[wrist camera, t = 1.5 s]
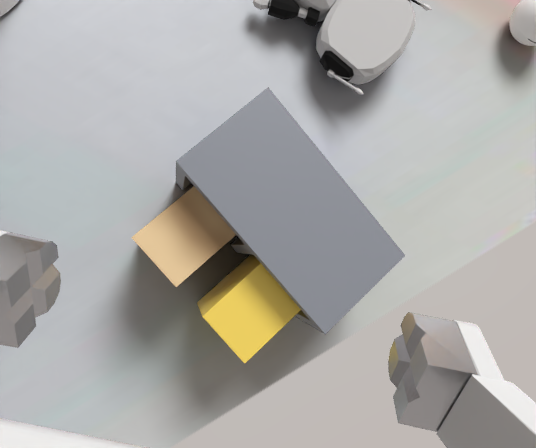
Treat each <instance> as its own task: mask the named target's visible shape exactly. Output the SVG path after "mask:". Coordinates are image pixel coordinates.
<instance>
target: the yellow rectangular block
mask: <svg viewBox="0 0 536 448" xmlns="http://www.w3.org/2000/svg"><path fill="white" fill-rule="evenodd" d="M197 304H198V307H199V309H200V312H201V314H202V317H203V318H204V319H205V320H206V321H207V322H208V323H209V324H210V326H211V327H212V328H213V329H214V330H215V331H216V332H217V333H218V334H219V336H220V337H221V338H222V339H223V340H224V341H225V342H226V343H227V345H228V346H229V347H230V348H231V349H232V350H233V351H234V352H235V353H236V355H237V356H238V357H239V358H240V359H241V360H242V361H243V362H244V363H246V362H247V361H248V360H249V359H250V358H251V357H252V356H253V355H254V354H255V353H256V352H258V351H259V350H260V349H261V348H262V347H263V346H264V345H265V344H266V343H267V342H268V341H269V340H270V339H271V338H272V337H273V336H274V335H275V334H276V333H277V332H278V331H279V330H280V329H282V328H283V327H284V326H285V325H286V324H287V323H288V322H289V321H290V320H291V319H292V318H293V317H294V316H295V315H296V314H297V313H298V312H299V311H300V310H301V309H300V308H299V307H298V306H297V304H296V303H295V302H294V301H293V300H292V299H291V298H290V296H289V295H288V294H287V293H286V292H285V291H284V289H283V288H282V287H281V286H280V285H279V284H278V282H277V281H276V280H275V279H274V278H273V277H272V276H271V274H270V273H269V272H268V271H267V270H266V269H265V267H264V266H263V265H262V264H261V263H260V262H259V260H258V259H257V258H256V257H255V256H254V255H252V254H251V255H250V256H248V257H247V258H246V259H245V260H244V261H243V262H242V263H241V264H240V265H238V266H237V267H236V268H235V269H234V270H233V271H232V272H231V273H229V274H228V275H227V276H226V277H225V278H224V279H223V280H222V281H221V282H219V283H218V284H217V285H216V286H215V287H214V288H213V289H212V290H211V291H209V292H208V293H207V294H206V295H205V296H204V297H203V298H202V299H200V300H199V301H198V302H197Z"/></svg>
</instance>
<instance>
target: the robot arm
mask: <svg viewBox="0 0 536 448" xmlns="http://www.w3.org/2000/svg"><path fill="white" fill-rule="evenodd" d="M18 1H19V0H0V17H1V16H2V15H4V14H5V13H7V12H8V11H9V10H10V9H12V8H13V7H14V6H15V5H16V4H17V2H18ZM57 258H58V251H57V245H56V244H54V243H53V242H52V241H48V240H43V239H39V238H34V237H29V236H25V235H20V234H16V233H11V232H10V233H9V232H6V231H1V230H0V345H5V346H11V347H17V348H18V347H19V346H20V345H21V344H22V342H23V341H24V340H25V339H26V338H27V336H28V335H29V334H30V333H31V332H32V330H33V329H34V328H35V327H36V321H35V317H38V316H40V315H42V314H44V313H47V312H48V311H49V309H50V308H51V307H52V306H53V304H54V303H55V300H56V298H57V296H58V293H59V290H60V283H61V280H60V273H59V271H58V270H57V269H56V268H55V266H54V265H53V263H54V262H55V261H56V259H57ZM401 328H402V333H403V334H402V335H401V336H399V337H397V338H396V339H394V342H393V344H392V347H391V349H390V356H389V361H388V365H389V367H388V369H389V377H390V380H391V382H392V383H393V384H394V385H395V386H396V387H397V390H396V392H395V394H394V396H393V399H394V404H395V409H396V414H397V419H398V423H400V424H404V425H409V426H413V427H418V428H422V429H426V430H431V431H435V432H437V435H438V436H439V438H440V439H441V441H442V442H443V443H444V445H445V446H446V447H447V448H536V403H535V402H534V401H533V400H532V399H531V398H529V397H528V396H527V395H526V394H525V393H524V392H522V391H521V390H520V389H519V388H518V387H517V386H515V385H514V384H513V383H512V382H508V381H505V380H504V378H503V376H502V374H501V372H500V370H499V368H498V366H497V364H496V362H495V360H494V358H493V356H492V353H491V351H490V349H489V347H488V345H487V343H486V341H485V339H484V337H483V334H482V333H481V330H480V328H479V327H478V326H477V325H476V324H474V323H468V322H462V321H456V320H446V319H441V318H436V317H431V316H426V315H420V314H415V313H410V312H408V313H407V314H406V316H405V317H404V319H403V321H402V323H401ZM0 448H148V447H143V446H138V445H133V444H128V443H123V442H118V441H113V440H108V439H103V438H98V437H93V436H88V435H83V434H78V433H73V432H68V431H63V430H58V429H53V428H48V427H43V426H38V425H32V424H27V423H22V422H17V421H12V420H7V419H2V418H0Z"/></svg>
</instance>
